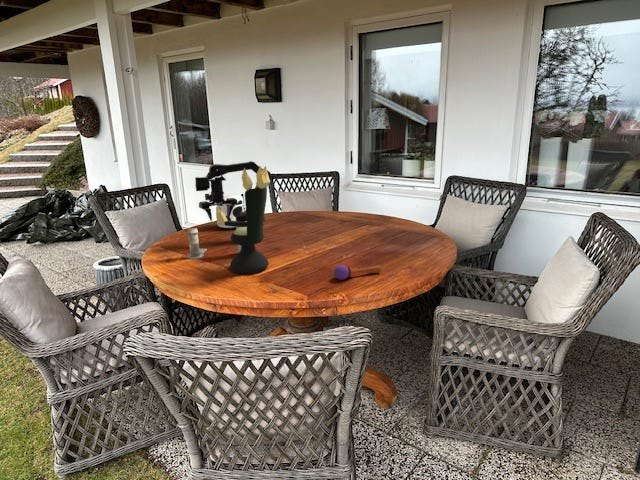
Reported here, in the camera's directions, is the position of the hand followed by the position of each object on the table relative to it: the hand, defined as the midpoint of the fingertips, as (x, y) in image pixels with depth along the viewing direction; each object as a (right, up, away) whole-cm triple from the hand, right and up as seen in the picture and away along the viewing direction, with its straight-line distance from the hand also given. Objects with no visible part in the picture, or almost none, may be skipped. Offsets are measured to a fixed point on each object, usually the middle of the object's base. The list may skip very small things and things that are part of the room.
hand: (219, 219), depth 218 cm
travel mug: (+16, -17, -14) cm, 27 cm away
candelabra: (+23, -23, -34) cm, 47 cm away
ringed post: (-8, -18, -16) cm, 25 cm away
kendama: (+67, -26, -45) cm, 85 cm away
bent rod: (-9, -16, -9) cm, 20 cm away
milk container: (-1, -3, +37) cm, 37 cm away
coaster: (-8, -18, -16) cm, 26 cm away
